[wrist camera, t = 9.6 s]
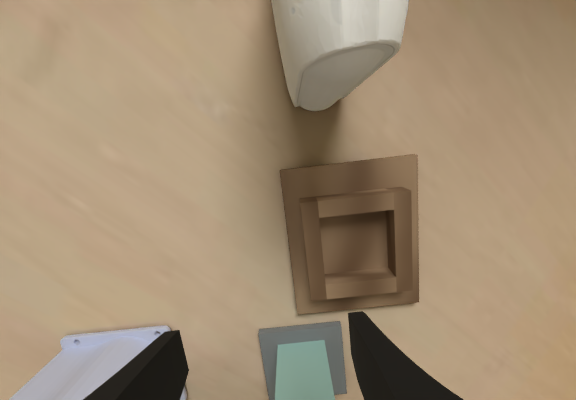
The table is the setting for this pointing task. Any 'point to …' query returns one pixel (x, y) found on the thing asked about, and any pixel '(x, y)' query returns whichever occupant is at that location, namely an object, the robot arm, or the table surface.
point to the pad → (304, 334)
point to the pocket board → (353, 233)
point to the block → (303, 372)
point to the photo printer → (335, 45)
